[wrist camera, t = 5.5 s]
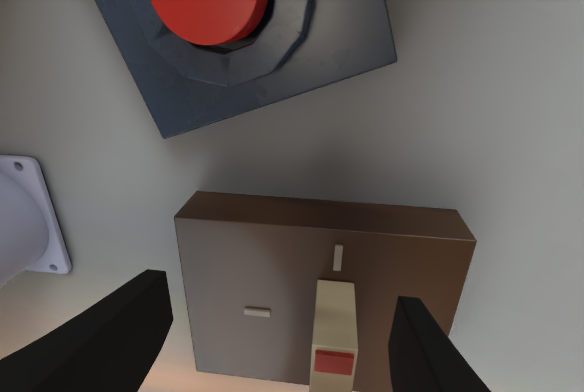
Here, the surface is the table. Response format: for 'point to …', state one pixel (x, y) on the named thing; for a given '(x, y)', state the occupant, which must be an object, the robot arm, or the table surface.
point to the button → (210, 19)
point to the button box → (247, 57)
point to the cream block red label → (334, 338)
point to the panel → (310, 277)
